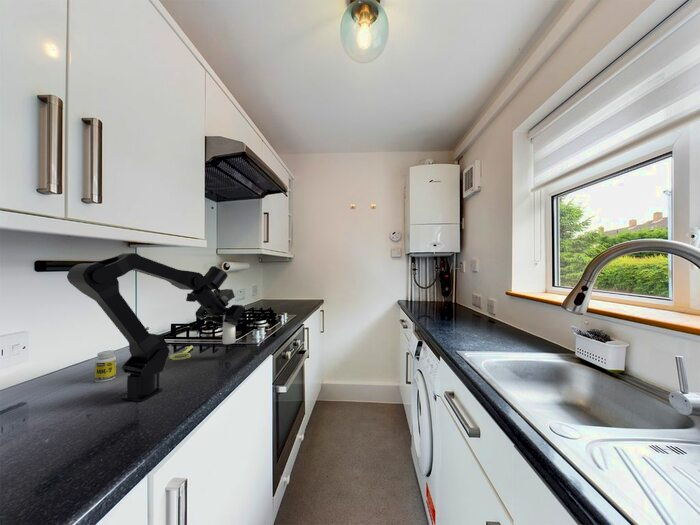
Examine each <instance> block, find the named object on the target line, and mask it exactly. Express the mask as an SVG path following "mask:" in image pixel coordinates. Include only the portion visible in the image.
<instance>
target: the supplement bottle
mask: <svg viewBox="0 0 700 525" xmlns="http://www.w3.org/2000/svg"><path fill="white" fill-rule="evenodd" d="M96 355H97V359H96V360H95V369H94V370H95V371H94V381H95V382H96V383H104V382H109V381H112V380H114V379H115V378H116V377H117V357H116V356H115V355H116V351H115V350H113V349H111V350H103V351H99V352H98V353H97V354H96Z"/></svg>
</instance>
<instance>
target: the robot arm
mask: <svg viewBox="0 0 700 525" xmlns="http://www.w3.org/2000/svg"><path fill="white" fill-rule="evenodd" d="M130 271H134V272H136V273H137V272H138V273H140V274H143V275H147V276H151V277H154V278H157V279H159V280H164V281H166V282H169V283H170V284H171V285H172V286H174V287H176V288H177V289H179V290H183V291H184V290H186V291H188V290H189V291H191V292H190V293H189V292H188V293H187V294H186V299H185V301H186V302H190V303H192V302H193V303H194V302H197V303H198V304H199V305H200V306H199V307H198V309H197V310H196V311H195V317H196V318H198V319H199V320H204V319H206V321H210V322H214V323H218V324H221V325H223V322H226V323H228V324H231V325H234V326H235V327H237V326H238V321H239V319H241V317H242V314H243V313H244V311H245V310H246V309H245V307H244V306H243V305H242V304H232V305H231V306H229V305H230V303H229V302H230V301H232V300H233V299H235V297H236V296H235V293H234V290H233V289H231V288H225V289H220V287H221V286H222V285H223V284H224V283H225V281H226V279H228V276H229V275H228V273H227V272H226V271H224V270H223V269H221V268H218V266H216V265H215V266H210V268H209V269H208V270H207V272H206V273H205V274H204V275H203V274H202V273H201V272H198V271H190V270H183V269H178V268H175V267H172V266H168V265H166V264H164V263H161V262H158V261H156V260H153V259H150V258H146V257H144V256H141V255H140V254H138V253H135V252H126V253H120V254H118V255H115V256H112V257H110V258H105V259H103V260H98V261H95V262H93V263H89V262H88V263H85V262H84V263H79V264H75V265H74V266H72V267H71V268H70V269H69V270H68V273H67V274H66V279H67V281H68V282H69V283H70V284H71V285H72V286H73V287H74V288H75V289H76V290H78V291H79V292H80V293H82V294H83V295H86V297H89V298H90V299H92V300H94V301H95V302H96V304H98V306H99V307H100V308H101V310H102V311H103V312H104V313H105V314H106V316H107V317H108V318H109V319H110V321H111V322H112V323H113V325H114V326H115V327H116V329H118V331H119V332H120V333H121V334H122V335H123V337H124V339H126V341H127V342H128V348H129V349H128V350H129V351H128V352H129V353H130V355H131V356H130V357H129V358H128V359H127V360H126V361H125V362H124V363H123V365H122V366H121V369H122V371H123V373H124V374H128V375H127V379H126V380H127V381H126V382H127V383H126V384H127V385H126V394H125V395H124V396H122V397H121V400H124V401H125V400H127V401H134V402H143V401H145V400H147V399H150V398H152V397H153V396H155V395H156V394H159V393H160V392H163V390H164V388H163V387H160V376H161V375H160V373H162V372H164V371H163V370H164V368H165V366H166V362H167V359H168V358H169V356H170V355H169V354H170V352H171V351H170V348H169V347H170V343H168V342H167V341H166V340H165V339H166V338H165V337H164V336H163V335H162V334H158V333H157V334H156V333H149V331H148V330H147V328H146V327H145V325H144V324H143V323H142V321H141V320H140V318H139V317H138V316H137V314H136V313H135V312H134V311H133V309H132V307H131V306H130V305H129V304H128V302H127V301H126V300H125V298H124V297H123V296H122V294H121V292H120V282H119V280H118V278H120V277H123V276H124V275H126V274H127V273H129V272H130ZM228 306H229V307H228ZM224 315H225V320H224V321H223V316H224Z"/></svg>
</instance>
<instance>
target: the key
mask: <svg viewBox="0 0 700 525" xmlns="http://www.w3.org/2000/svg"><path fill="white" fill-rule="evenodd" d="M193 348H194V346H193V345H190V346H185V347H184V349H185V350H183V351H181V352H178V353H173V354H170V355H168V359H169V360H170V359H172V360H171V361H180V360H186V359H189V358H191V357H192V356H191V353H189V352H190V351H191V350H192V349H193ZM175 356H177V357H175Z"/></svg>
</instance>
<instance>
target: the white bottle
mask: <svg viewBox="0 0 700 525" xmlns="http://www.w3.org/2000/svg"><path fill="white" fill-rule="evenodd" d="M224 320H225V315H224V316H223V321H224ZM235 343H236V326H234V325H231V324H228V323H226V322H223V324H222V344H223V345H231V344H235Z"/></svg>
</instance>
